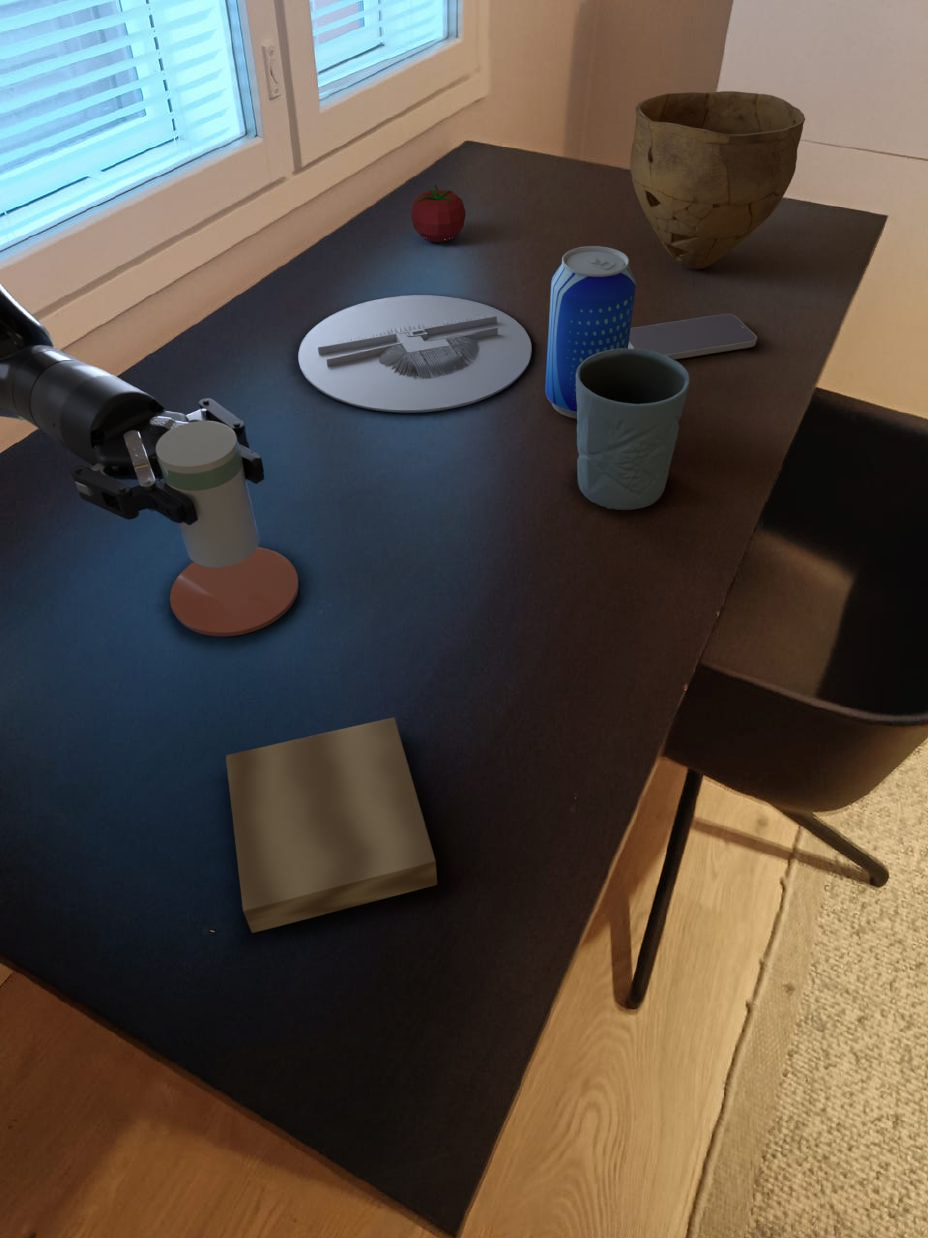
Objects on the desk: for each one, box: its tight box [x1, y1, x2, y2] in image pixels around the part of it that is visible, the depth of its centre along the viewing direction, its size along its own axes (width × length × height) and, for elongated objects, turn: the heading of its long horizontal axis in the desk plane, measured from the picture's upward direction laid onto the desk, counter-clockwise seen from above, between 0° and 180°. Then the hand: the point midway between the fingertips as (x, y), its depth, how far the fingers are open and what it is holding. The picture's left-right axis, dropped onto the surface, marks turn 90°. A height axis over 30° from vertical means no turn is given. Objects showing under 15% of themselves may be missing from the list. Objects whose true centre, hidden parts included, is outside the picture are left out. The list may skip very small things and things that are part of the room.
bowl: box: [629, 90, 806, 271], centre depth 116 cm, size 21×20×20 cm
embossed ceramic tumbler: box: [576, 348, 691, 511], centre depth 84 cm, size 10×10×12 cm
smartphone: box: [628, 313, 758, 360], centre depth 108 cm, size 7×1×15 cm
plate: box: [297, 294, 532, 414], centre depth 108 cm, size 28×28×1 cm
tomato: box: [410, 184, 467, 243], centre depth 128 cm, size 8×8×8 cm
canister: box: [156, 421, 260, 568], centre depth 71 cm, size 6×6×10 cm
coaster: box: [169, 546, 300, 637], centre depth 78 cm, size 11×11×1 cm
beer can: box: [544, 245, 637, 420], centre depth 93 cm, size 8×8×16 cm
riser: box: [225, 717, 438, 934], centre depth 60 cm, size 12×12×3 cm
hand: (226, 492), depth 69 cm, fingers closed on canister, 6 cm apart
